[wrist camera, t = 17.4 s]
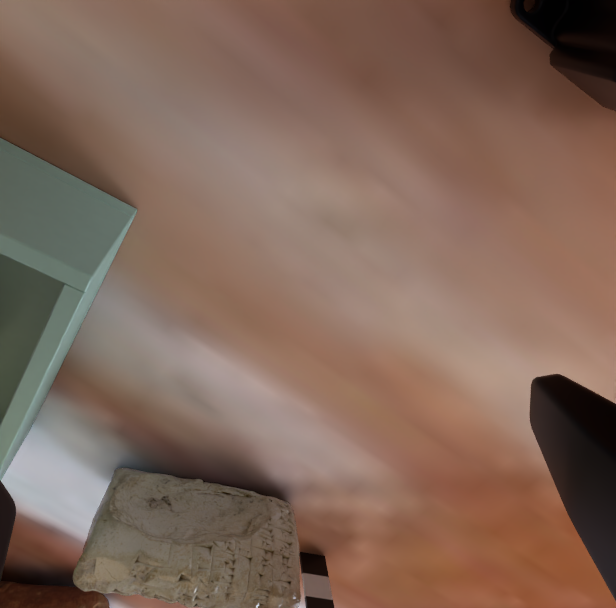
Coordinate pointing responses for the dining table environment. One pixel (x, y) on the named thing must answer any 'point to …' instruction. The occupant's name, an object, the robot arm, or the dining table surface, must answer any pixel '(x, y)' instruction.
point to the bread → (48, 596)
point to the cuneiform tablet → (198, 546)
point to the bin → (46, 278)
